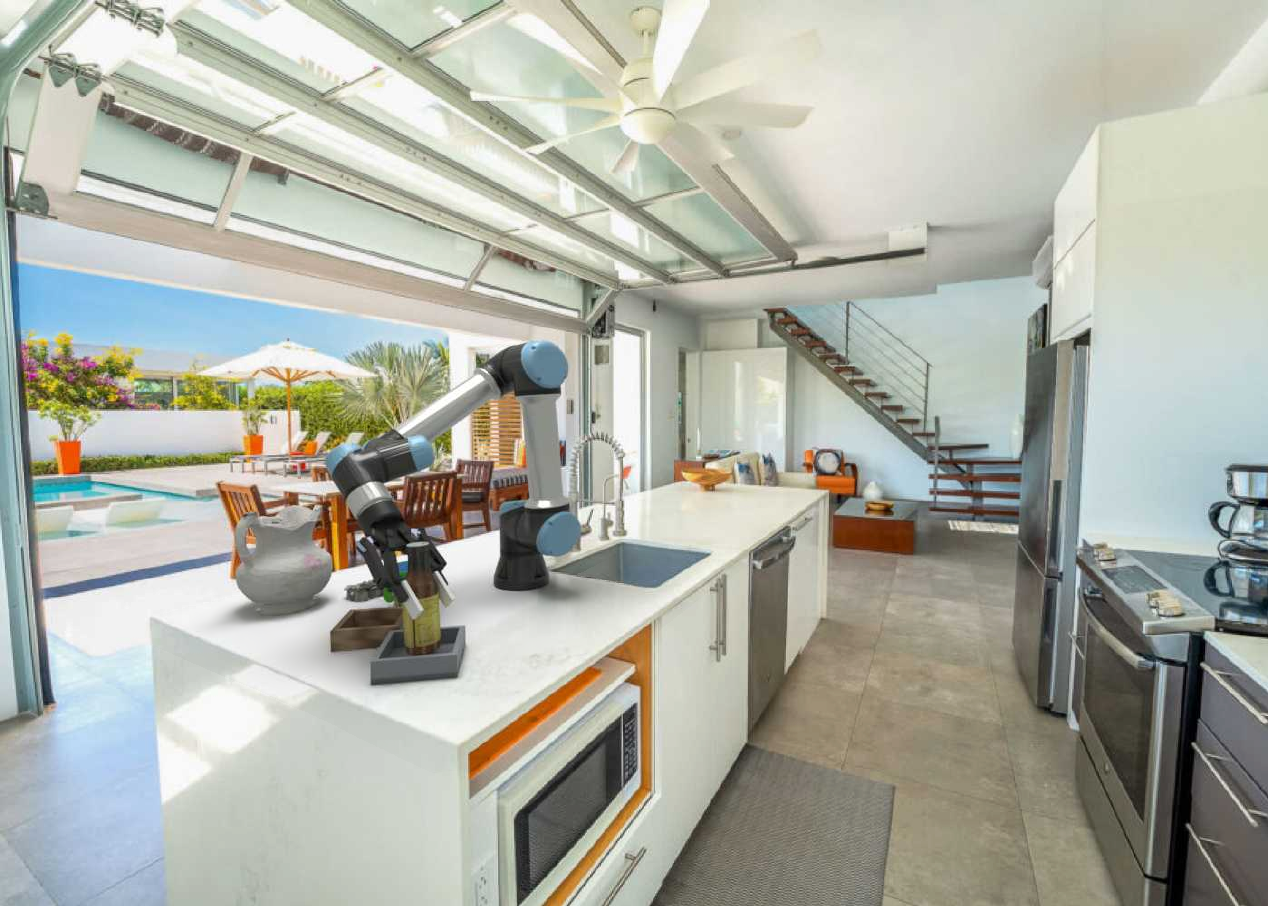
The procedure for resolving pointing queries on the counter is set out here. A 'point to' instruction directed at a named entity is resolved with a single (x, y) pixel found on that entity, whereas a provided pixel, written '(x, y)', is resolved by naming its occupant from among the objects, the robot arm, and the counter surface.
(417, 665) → the tray
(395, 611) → the square brown frame
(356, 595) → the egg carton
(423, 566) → the sauce bottle
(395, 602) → the snack cup
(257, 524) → the ceramic pitcher
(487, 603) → the counter surface
